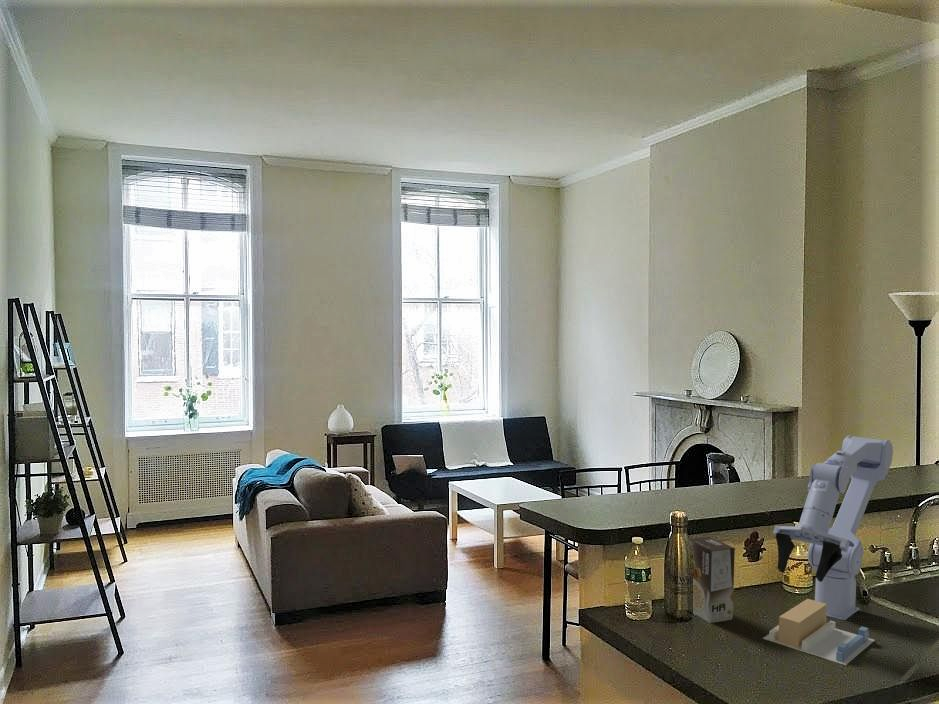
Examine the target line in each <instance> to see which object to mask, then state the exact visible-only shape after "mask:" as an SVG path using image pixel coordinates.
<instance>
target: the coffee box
mask: <svg viewBox="0 0 939 704" xmlns="http://www.w3.org/2000/svg"><path fill="white" fill-rule="evenodd" d="M688 539H689V542H690V545H691V549H692V555H693V570H694V576H693V614H694V615H693V614H692V615H693V616H697V617H700V618H701V619H703V620H705V621H706V622H707V623H709V624H711V623H718V622H725V621H730V620H733V617H734V616H733V615H734V614H733V613H734V591H735V589H734V588H735V587H734V585H735V583H734V581H735V557H736V556H735V553H736V548H735V547H733V546H731V545H728V544H727V543H724V542H721V540H717V539H715V538H713V537H711V536H702V537H701V536H700V537H694V538H688Z"/></svg>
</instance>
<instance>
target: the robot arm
mask: <svg viewBox="0 0 939 704" xmlns="http://www.w3.org/2000/svg"><path fill="white" fill-rule="evenodd" d="M893 455H894V449H893V444H892V442H891V441H890V440H889V439H877V438H871V437H870V438H869V437H862V436H861V437H860V436H854V435H847V436H846V437H845V438H844V439H843V441H842V445H841V450H837V451H835V453H833V454H831V456H830V457H829V458H827V459H826V460H825V461H824V462H823V463H822V462H818V463H816V464H813V465H812V466H811V467H810V470H809V476H808V483H807V484H808V485H807V488H806V489H807V493H808V494H807V495H806V500H805V503H804V506H803V509H802V512H801V516H800V519H799V523H798V525H797V526H793V525H791V526H789V525H788V526H787V525H786V526H785V525H778V524H775V525H774V529H773V533H772V534H773V535H774V536H775V539H776V545H777V555H778V556H777V557H778V558H777V569H778V571H779V572H780V573H783V574H784V573H785V571H786V569H787V565H788V561H789V558H790V556H791V554H792V552H793V550H794V548H795V546H796V545H795V544H794V542H793V541H798V542H801V543H802V542H803V543H808V544H809V546H808V550H807V560H808V563H809V565H810V566H811V567H813V568H812V569H813V571H814V572H815V588H814V589H815V591H814V593H815V594H814V601H818V602H821V603H825V604H827V614H826V616H828V617H831V618H835V619H839V620H844V621H846V620H847V619H848V618H849V617H851V616H853V614H855V613H856V612H858V611H861V610H860V607H857V606H856V601H857V600H856V597H857V596H856V594H857V580H856V577H855V576H856V575H858V574H859V572H860V571H861V568H862V562H863V557H864V547H863V543H862V541H861V540H860V538H858V537H857V532H858V530H859V527H860V524H861V522H862V519H863V516H864V514H865V511H866V509H867V506H868V504H869V501H870V499H871V496H872V493H873V491H874V489H875V486H876V485H877V483H878V482H880V481H883V480H885V479H886V476H887V475H888V473H889V470H890V468H891V465H892V462H893ZM850 479H851V481H850ZM849 482H850V484H849ZM848 484H849V486H848ZM847 487H848V488H847ZM846 490H847V491H846ZM845 492H846V493H845ZM844 493H845V495H844V497H843V498H844V499H843V501H842V503H841V504H840V508H839V510H838V513H837V515H836V517H835V520H834V522H833V525H832V527H831V524H832V521H833V516H834V513H835V510H836V506H837V503H838V499H839V497H840V494H844Z"/></svg>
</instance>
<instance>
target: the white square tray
mask: <svg viewBox="0 0 939 704" xmlns="http://www.w3.org/2000/svg"><path fill="white" fill-rule="evenodd" d="M869 633H870V632H869V627H865V626H861V627H860V626H859V628H858V631H857V634H856V633H853V632H850V631H845V630H842V629H839V628H837V627H836V621H833V620H829V621H828V622H826V624H825V625H824V626H822V627H821V628H820V629H818V630H817V631H815V632H814V633H813V634H811V635H810V636H808V637H807V638H806V639H804V640H803V641H802V645H801V646H800V647H795V646H792V645H789V644H786V643H783V642H779V641H778V634H779V624H778V625H776V626H775V627H774V628H772V629H770V630H769V634H767V635H765V636H764V637H762V639H763V640H766V641H770V642H772V643H775V644H778V645H782V646H785V647H788V648H791V649H795V650H797V651H800V652H803V653H807V654H809V655H813V656H816V657H818V658H822V659H825V660H828V661H831V662H835V663H837V664H841V665H844V666H847V665H848V664H849V663H850V662H851V661H852V660H854V659H855V658H856V657H857V656H858V655H859V654H860V653H862V652H863V651H864V650H865V649H867V648H868V647H869V646H870V645H871V644H872V643H873V642H875V641H876V640H875V639H873V638H870V637H869V635H870V634H869Z"/></svg>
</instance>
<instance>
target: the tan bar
mask: <svg viewBox="0 0 939 704" xmlns="http://www.w3.org/2000/svg"><path fill="white" fill-rule="evenodd" d="M826 614H827V604H825V603H821V602H818V601H815V599H810V598H806V599H805V600H803V601H802V602H800V603H799V604H797V605H795V606H794V607H792V608H790V609H789V610H787V611H786V612H784V613H783V614H781V615H779V617H778V625H779V634H778V641H779V642H783V643H786V644H789V645H792V646H795V647H800V646H801V645H802V641H803V640H804V639H806V638H807V637H808V636H810V635H811V634H813V633H814V632H815V631H817V630H818V629H820V628H821V627H822V626H824V625H825V624H826V623H827V615H826Z"/></svg>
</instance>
